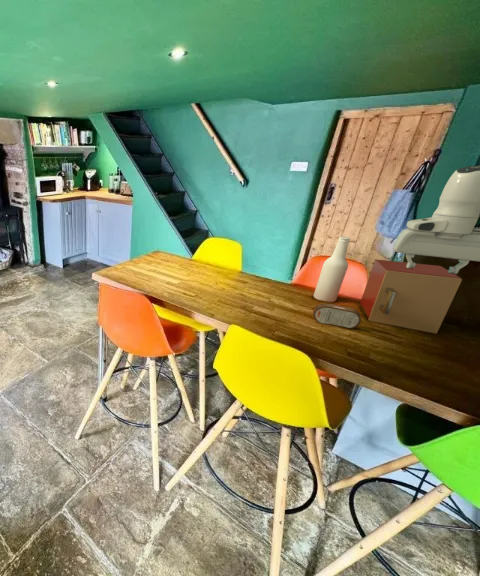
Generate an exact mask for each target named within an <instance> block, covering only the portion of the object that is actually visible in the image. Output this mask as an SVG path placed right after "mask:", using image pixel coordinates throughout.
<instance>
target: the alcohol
mask: <svg viewBox="0 0 480 576" xmlns="http://www.w3.org/2000/svg"><path fill="white" fill-rule="evenodd" d="M350 241H351V237H349V236H339V237H338V240H337V243H336V245H335V247H334V250H333V252H332V255H331V256H329V257H328V258H327V259H325V261H324V262H323V264H322V268H321V271H320V274H319V277H318V280H317V283H316V286H315V290H314V293H313V298H314V299H316V300H318V301H323V302H327V303H328V302H329V303H333V302H336V301H337V299H338V296H339V293H340V291H341V289H342V288H341V287H342V285H343V282H344V279H345V276H346V273H347V271H348V268H349V263H348V260H347V258H346V256H347V252H348V248H349V244H350Z"/></svg>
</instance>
